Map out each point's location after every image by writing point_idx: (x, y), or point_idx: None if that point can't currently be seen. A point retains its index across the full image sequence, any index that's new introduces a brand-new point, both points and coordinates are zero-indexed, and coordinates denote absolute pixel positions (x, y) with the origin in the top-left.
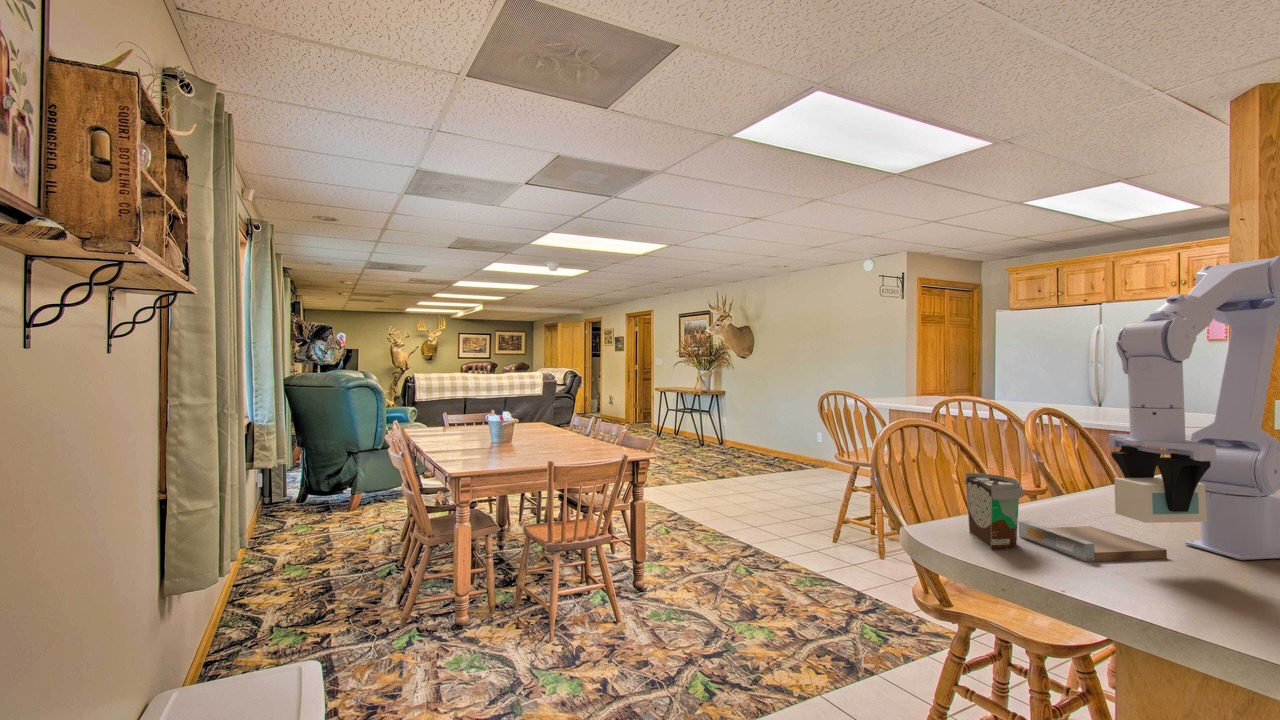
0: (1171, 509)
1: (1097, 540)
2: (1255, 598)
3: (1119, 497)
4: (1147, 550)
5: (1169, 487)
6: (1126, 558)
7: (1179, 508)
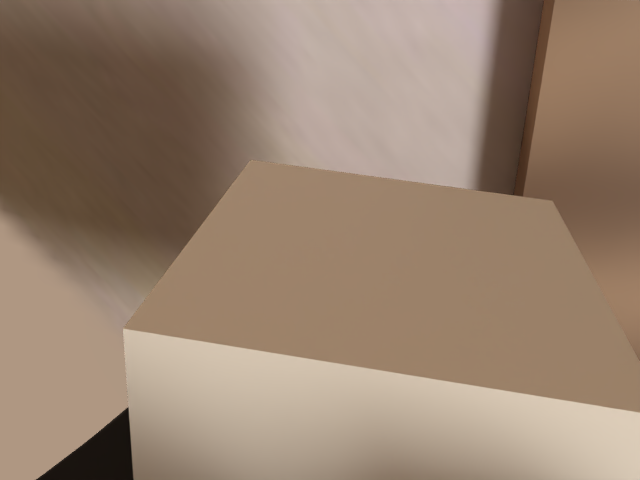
0: None
1: None
2: (45, 220)
3: (524, 262)
4: None
5: (61, 477)
6: (516, 181)
7: None
